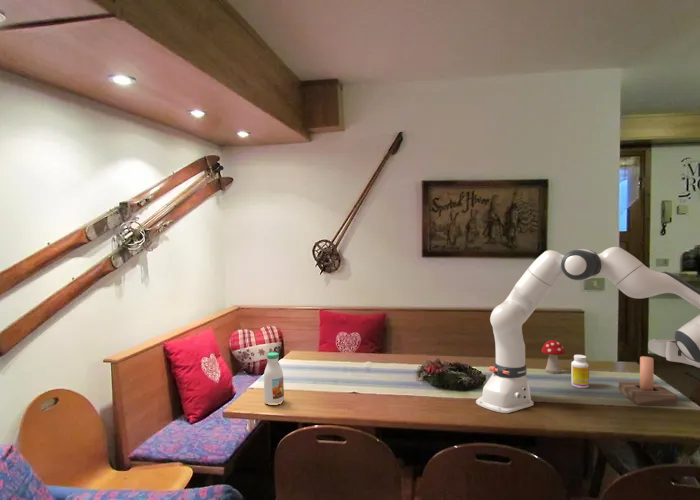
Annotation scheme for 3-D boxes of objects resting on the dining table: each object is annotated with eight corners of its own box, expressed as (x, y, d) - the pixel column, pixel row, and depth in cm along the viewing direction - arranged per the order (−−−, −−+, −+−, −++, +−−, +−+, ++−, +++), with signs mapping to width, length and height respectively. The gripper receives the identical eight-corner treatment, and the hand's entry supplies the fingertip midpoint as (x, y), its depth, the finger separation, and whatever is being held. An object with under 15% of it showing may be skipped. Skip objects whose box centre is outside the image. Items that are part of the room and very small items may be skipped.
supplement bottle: (591, 389, 184) (591, 358, 183) (573, 388, 185) (573, 358, 184) (585, 383, 190) (585, 354, 189) (569, 382, 191) (569, 353, 191)
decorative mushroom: (560, 369, 209) (560, 338, 209) (567, 375, 201) (567, 342, 200) (539, 369, 210) (538, 338, 210) (545, 375, 202) (545, 342, 201)
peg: (650, 401, 170) (651, 360, 169) (637, 398, 173) (638, 357, 172) (654, 398, 172) (655, 358, 172) (642, 395, 176) (642, 355, 175)
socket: (676, 405, 165) (677, 395, 165) (637, 405, 167) (637, 394, 166) (655, 391, 179) (655, 382, 179) (618, 391, 180) (618, 381, 180)
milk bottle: (265, 407, 173) (263, 357, 172) (263, 400, 180) (262, 351, 179) (285, 404, 175) (283, 355, 174) (282, 397, 182) (281, 350, 181)
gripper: (728, 342, 145) (697, 332, 159) (664, 342, 146) (639, 332, 160) (728, 361, 145) (697, 349, 159) (663, 361, 146) (638, 349, 160)
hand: (667, 340), depth 159 cm, fingers open, 8 cm apart
